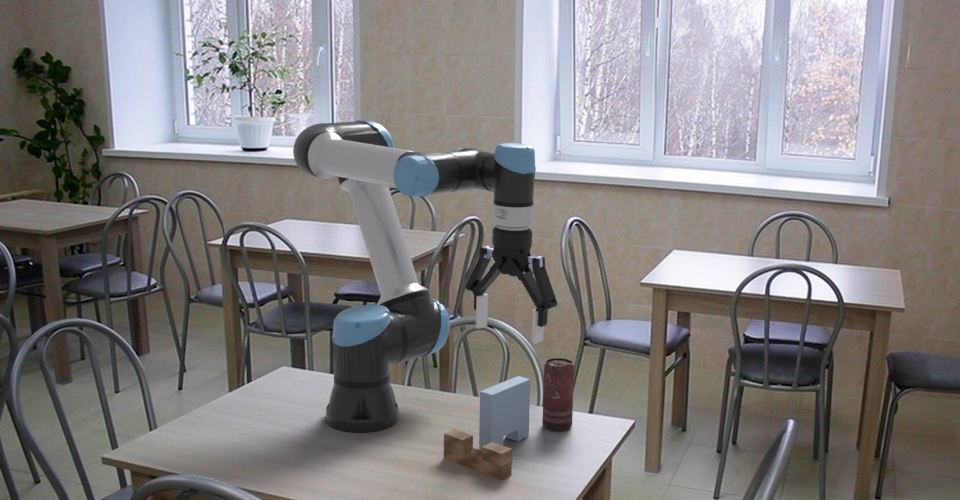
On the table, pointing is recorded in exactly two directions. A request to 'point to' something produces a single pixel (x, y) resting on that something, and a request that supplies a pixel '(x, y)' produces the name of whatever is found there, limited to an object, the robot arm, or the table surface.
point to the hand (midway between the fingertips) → (508, 334)
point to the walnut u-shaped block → (477, 454)
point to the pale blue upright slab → (504, 411)
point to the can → (558, 394)
